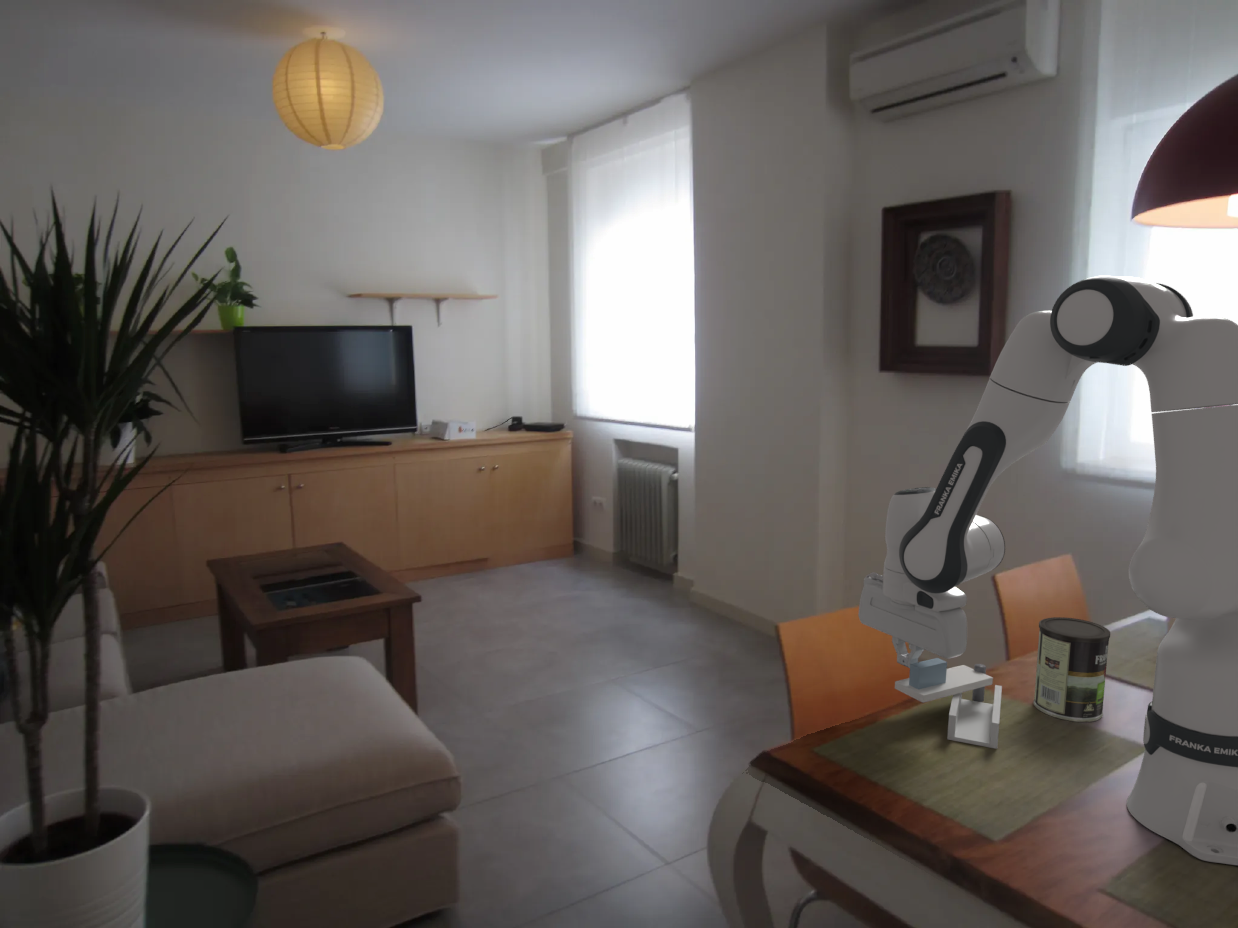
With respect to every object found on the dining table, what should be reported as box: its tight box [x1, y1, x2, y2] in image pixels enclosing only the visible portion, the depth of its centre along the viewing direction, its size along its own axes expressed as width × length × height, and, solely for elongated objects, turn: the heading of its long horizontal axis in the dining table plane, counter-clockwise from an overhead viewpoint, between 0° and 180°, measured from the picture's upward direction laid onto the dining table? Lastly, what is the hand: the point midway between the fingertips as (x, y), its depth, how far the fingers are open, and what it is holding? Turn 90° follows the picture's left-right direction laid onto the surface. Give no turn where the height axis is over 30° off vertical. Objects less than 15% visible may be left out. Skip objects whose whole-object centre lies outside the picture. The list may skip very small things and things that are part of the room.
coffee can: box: [1033, 617, 1111, 723], centre depth 140 cm, size 10×10×14 cm
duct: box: [947, 684, 1003, 750], centre depth 135 cm, size 7×15×4 cm, turn 155°
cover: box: [894, 657, 994, 703], centre depth 139 cm, size 6×17×9 cm, turn 117°
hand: (907, 665), depth 141 cm, fingers closed
